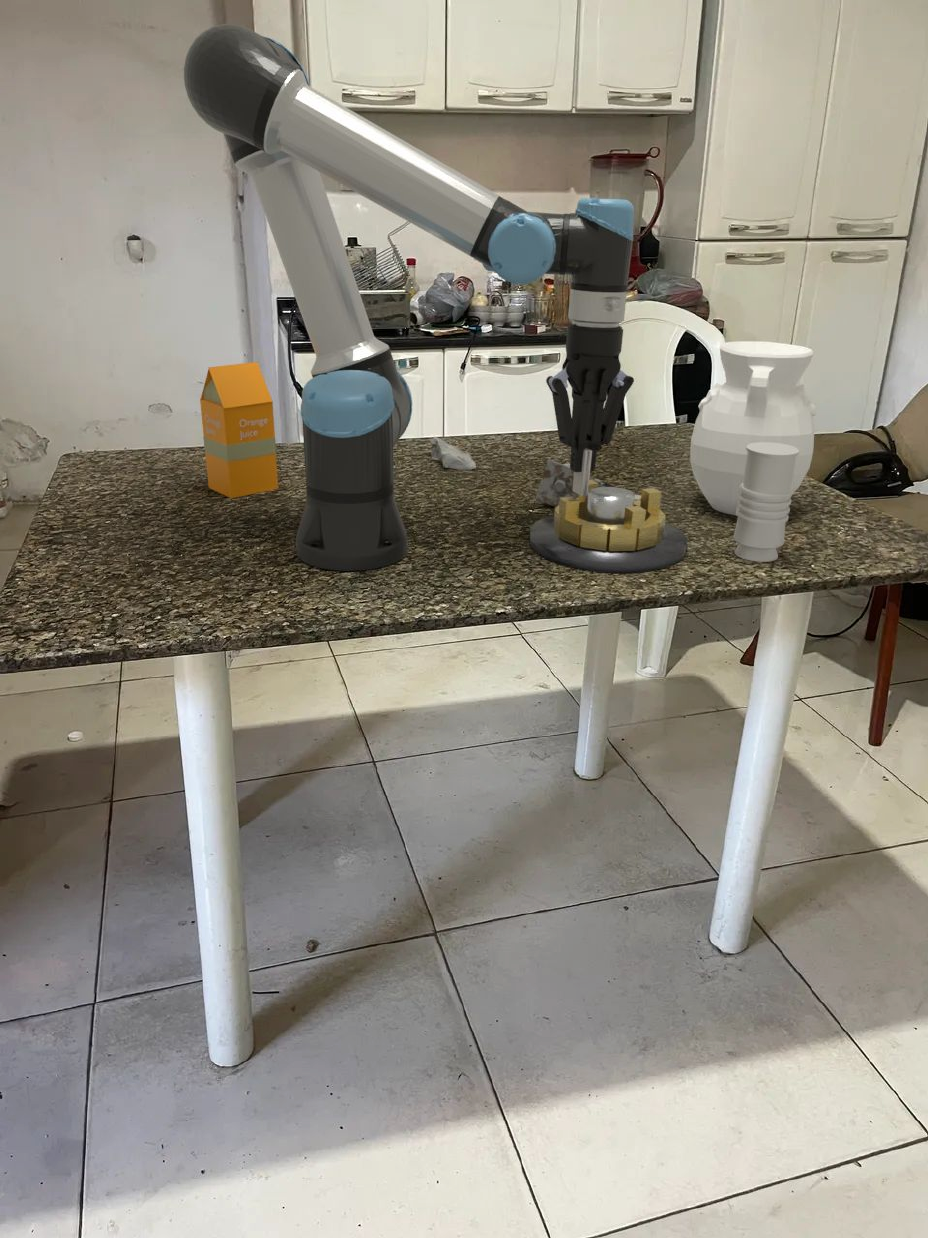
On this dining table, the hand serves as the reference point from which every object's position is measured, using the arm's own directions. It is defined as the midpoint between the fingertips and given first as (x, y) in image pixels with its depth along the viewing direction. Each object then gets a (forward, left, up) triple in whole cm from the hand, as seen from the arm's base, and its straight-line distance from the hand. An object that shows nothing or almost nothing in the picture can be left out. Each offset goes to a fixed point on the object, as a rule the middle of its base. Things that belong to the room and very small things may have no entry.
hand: (580, 493), depth 137 cm
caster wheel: (+3, +13, -6) cm, 15 cm away
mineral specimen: (-15, +39, -6) cm, 42 cm away
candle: (+23, -11, -6) cm, 26 cm away
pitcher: (+29, +10, -6) cm, 31 cm away
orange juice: (-51, +24, -6) cm, 57 cm away
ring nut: (+3, -6, -4) cm, 8 cm away
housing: (+3, -6, -6) cm, 9 cm away
